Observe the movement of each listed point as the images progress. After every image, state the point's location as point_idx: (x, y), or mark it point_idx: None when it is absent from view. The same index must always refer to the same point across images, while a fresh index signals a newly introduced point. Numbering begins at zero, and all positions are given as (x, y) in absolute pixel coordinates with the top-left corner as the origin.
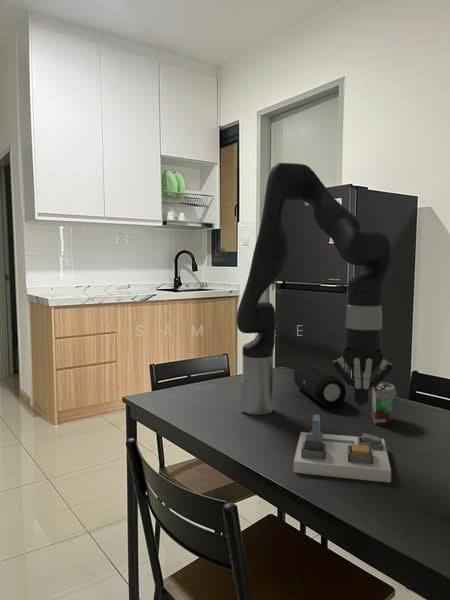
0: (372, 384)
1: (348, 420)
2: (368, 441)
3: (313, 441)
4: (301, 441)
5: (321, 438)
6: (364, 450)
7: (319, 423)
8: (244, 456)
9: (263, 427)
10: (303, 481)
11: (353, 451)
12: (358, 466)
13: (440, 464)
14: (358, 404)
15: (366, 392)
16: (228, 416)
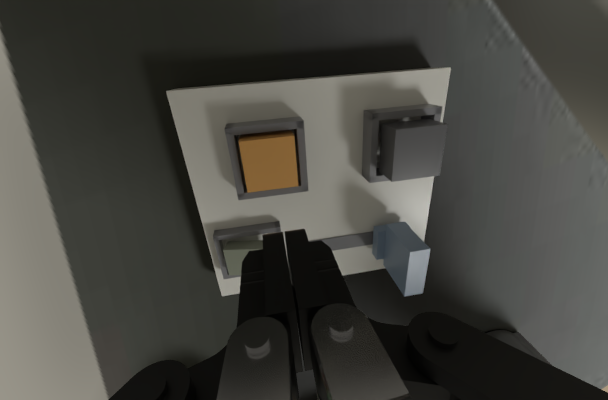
0: (183, 383)
1: (311, 375)
2: (254, 243)
3: (421, 126)
4: (422, 209)
5: (396, 157)
6: (255, 148)
7: (400, 259)
8: (539, 125)
9: (481, 285)
10: (407, 16)
11: (288, 136)
12: (267, 92)
13: (74, 246)
14: (300, 229)
15: (254, 305)
16: (543, 306)
